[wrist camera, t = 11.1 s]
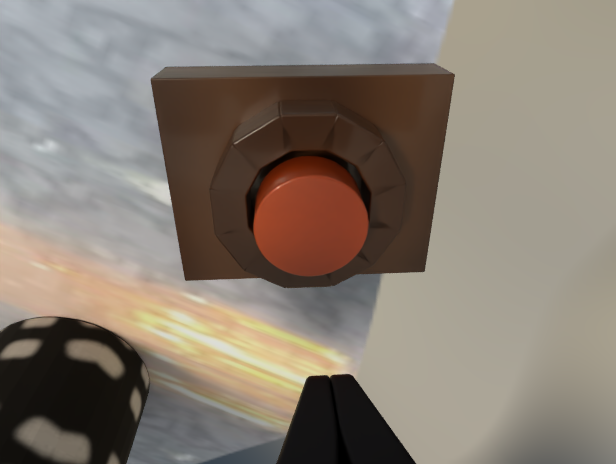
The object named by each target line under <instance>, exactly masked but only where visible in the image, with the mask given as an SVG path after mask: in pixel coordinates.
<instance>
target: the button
mask: <svg viewBox="0 0 616 464" xmlns="http://www.w3.org/2000/svg"><path fill="white" fill-rule="evenodd" d="M368 228H369V219H368V213H367V210H366V207H365V204H364V202H363V199H362V196H361V194H360V191H359V189H358V186H357V184H356V182H355V180H354V178H353V177H352V176H351V174H350V173H349V172H348V171H347V170H346V169H345V168H344V167H342V166H341V165H339V164H338V163H336V162H334V161H332V160H330V159H327V158H323V157H318V156H301V157H296V158H292V159H289V160H287V161H285V162H283V163H281V164H279V165H278V166H276V167H275V168H273V169H272V170H271V171H270V172H269V173H268V174H267V175H266V177H265V178H264V179H263V181H262V182H261V184H260V187H259V189H258V192H257V196H256V203H255V213H254V223H253V231H254V237H255V241H256V244H257V246H258V248H259V250H260V251H261V253H262V254H263V255H264V257H265V258H266V259H267V260H268V261H269V262H270V263H272V264H273V265H274V266H276V267H277V268H279V269H281V270H283V271H285V272H288V273H290V274H294V275H299V276H319V275H324V274H328V273H331V272H333V271H336V270H338V269H340V268H342V267H343V266H345V265H346V264H348V263H349V262H350V261H351V260H352V259H353V258H354V257H355V256H356V255H357V254H358V253H359V251H360V250H361V248H362V247H363V245H364V242H365V240H366V237H367V234H368Z"/></svg>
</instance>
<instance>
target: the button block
mask: <svg viewBox="0 0 616 464" xmlns="http://www.w3.org/2000/svg"><path fill="white" fill-rule="evenodd" d="M454 77H455V75H454V74H453V73H451V72H449V71H448V70H446V69H444V68H442V67H440V66H438V65H436V64H434V63H430V64H355V65H280V66H205V67H165V68H164V69H163V70H161V71H160V72H159V73H157V74H156V75H155V76H154V77H152V78H151V85H152V91H153V97H154V102H155V108H156V114H157V120H158V126H159V131H160V137H161V143H162V149H163V155H164V160H165V166H166V172H167V178H168V184H169V189H170V195H171V201H172V207H173V213H174V218H175V224H176V230H177V236H178V242H179V248H180V253H181V259H182V265H183V271H184V277H185V280H186V281H190V280H217V279H244V278H262V279H265V280H267V281H269V282H272V283H274V284H276V285H279V286H281V287H284V288H286V287H287V288H303V287H329V286H334V285H336V284H338V283H340V282H342V281H344V280H346V279H348V278H350V277H352V276H354V275H356V274H379V273H406V272H424V271H425V265H426V259H427V252H428V246H429V239H430V233H431V226H432V219H433V213H434V207H435V200H436V194H437V187H438V181H439V174H440V168H441V161H442V154H443V148H444V142H445V135H446V129H447V122H448V116H449V109H450V103H451V96H452V90H453V83H454ZM301 156H318V157H323V158H327V159H330V160H332V161H334V162H336V163H338V164H339V165H341V166H342V167H344V168H345V169H346V170H347V171H348V172H349V173H350V174H351V176H352V177H353V178H354V180H355V182H356V184H357V186H358V189H359V191H360V194H361V196H362V199H363V202H364V204H365V207H366V210H367V213H368V219H369V228H368V234H367V237H366V240H365V242H364V245H363V247H362V248H361V250H360V251H359V253H358V254H357V255H356V256H355V257H354V258H353V259H352V260H351V261H350V262H349V263H348V264H346V265H345V266H343V267H342V268H340V269H338V270H336V271H333V272H331V273H328V274H324V275H319V276H299V275H294V274H290V273H288V272H285V271H283V270H281V269H279V268H277V267H276V266H274V265H273V264H272V263H270V262H269V261H268V260H267V259H266V258H265V257H264V255H263V254H262V253H261V251H260V250H259V248H258V246H257V244H256V241H255V237H254V231H253V223H254V213H255V203H256V196H257V192H258V189H259V187H260V184H261V182H262V181H263V179H264V178H265V177H266V175H267V174H268V173H269V172H270V171H271V170H272V169H273V168H275V167H276V166H278V165H279V164H281V163H283V162H285V161H287V160H289V159H292V158H296V157H301Z"/></svg>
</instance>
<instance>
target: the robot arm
mask: <svg viewBox="0 0 616 464" xmlns="http://www.w3.org/2000/svg"><path fill="white" fill-rule="evenodd" d="M276 464H416V463H415V461H414V460H413V459H412V458H411V456H410V455H409V453H408V452H407V450H406V449H405V448H404V446H403V445H402V443H401V442H400V441H399V439H398V438H397V437H396V435H395V434H394V432H393V431H392V430H391V428H390V427H389V425H388V424H387V423H386V421H385V420H384V418H383V417H382V416H381V414H380V413H379V412H378V410H377V409H376V407H375V406H374V405H373V403H372V402H371V400H370V399H369V398H368V396H367V395H366V394H365V392H364V391H363V389H362V388H361V387H360V385H359V384H358V382H357V381H356V380H355V378H354V377H353V376H352V375H350V374H340V375H332V376H331V377H330V378H329V377H328V376H327V375H320V376H309V377H308V378H307V379H306V382H305V385H304V387H303V390H302V393H301V396H300V399H299V401H298V404H297V407H296V410H295V413H294V415H293V418H292V421H291V424H290V427H289V429H288V432H287V435H286V438H285V441H284V444H283V446H282V449H281V452H280V455H279V458H278V460H277V463H276Z"/></svg>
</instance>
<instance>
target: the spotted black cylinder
mask: <svg viewBox="0 0 616 464" xmlns="http://www.w3.org/2000/svg"><path fill="white" fill-rule="evenodd" d="M149 385H150V382H149V376H148V372H147V369H146V367H145V365H144V363H143V361H142V360H141V358H140V357H139V356H138V354H137V353H136V352H135V351H134V350H133V349H132V348H131V347H130V346H129V345H128V344H127V343H126V342H124V341H123V340H122V339H120V338H118V337H117V336H115V335H114V334H112V333H111V332H109V331H106V330H104V329H102V328H100V327H97V326H95V325H92V324H89V323H85V322H82V321H78V320H73V319H66V318H52V317H41V318H35V319H28V320H23V321H20V322H17V323H14V324H11V325H9V326H8V327H6V328H4V329H3V330H1V331H0V464H126V463H127V460H128V457H129V454H130V451H131V448H132V444H133V441H134V438H135V435H136V432H137V428H138V425H139V422H140V419H141V416H142V413H143V409H144V406H145V403H146V400H147V397H148V393H149Z"/></svg>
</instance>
